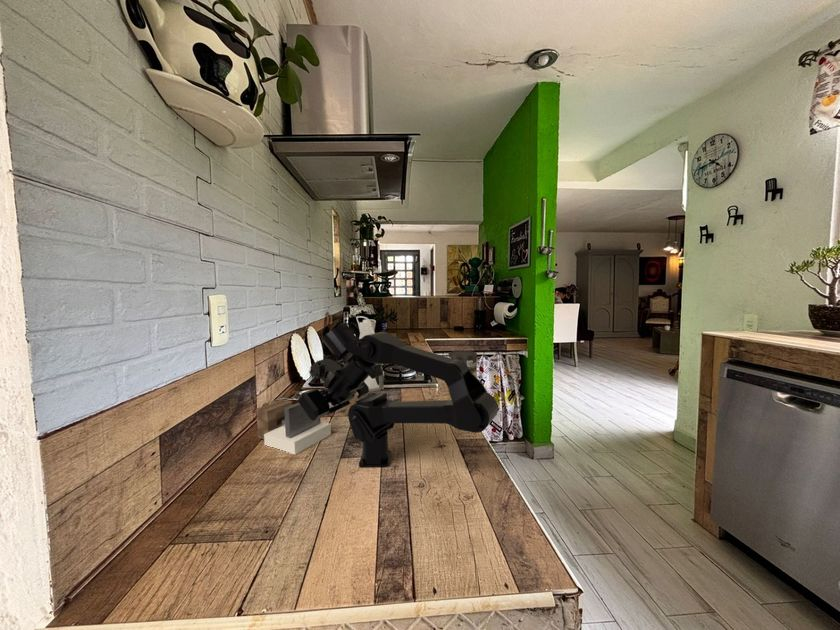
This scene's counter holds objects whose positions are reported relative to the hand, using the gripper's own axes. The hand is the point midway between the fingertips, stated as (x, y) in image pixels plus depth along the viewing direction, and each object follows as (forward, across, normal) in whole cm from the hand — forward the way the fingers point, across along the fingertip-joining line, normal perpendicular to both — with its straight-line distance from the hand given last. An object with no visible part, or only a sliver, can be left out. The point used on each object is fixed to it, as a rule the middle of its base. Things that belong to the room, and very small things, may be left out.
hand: (319, 415), depth 84 cm
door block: (+11, 0, 0) cm, 11 cm away
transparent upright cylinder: (-6, -56, +17) cm, 59 cm away
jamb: (+16, 0, -6) cm, 17 cm away
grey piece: (+9, 0, -3) cm, 9 cm away
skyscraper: (+18, -44, -7) cm, 48 cm away
